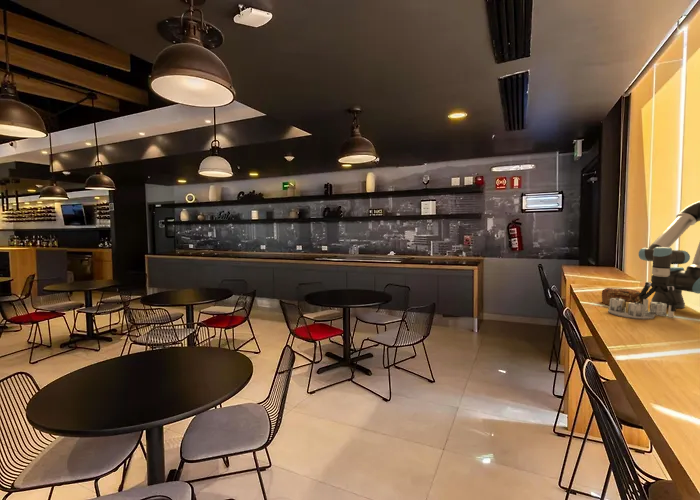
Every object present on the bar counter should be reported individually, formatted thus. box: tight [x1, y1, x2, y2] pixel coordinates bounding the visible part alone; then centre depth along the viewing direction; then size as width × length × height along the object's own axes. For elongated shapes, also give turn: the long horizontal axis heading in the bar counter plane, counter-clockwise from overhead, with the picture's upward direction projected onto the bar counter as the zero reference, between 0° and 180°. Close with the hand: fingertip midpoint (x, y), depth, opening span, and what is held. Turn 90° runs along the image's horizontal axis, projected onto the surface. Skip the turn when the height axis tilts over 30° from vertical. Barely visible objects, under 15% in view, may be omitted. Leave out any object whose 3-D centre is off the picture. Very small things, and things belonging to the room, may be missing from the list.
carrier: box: [608, 298, 656, 320], centre depth 196 cm, size 20×20×8 cm
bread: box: [601, 287, 642, 307], centre depth 218 cm, size 19×11×10 cm, turn 70°
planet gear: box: [649, 301, 668, 317], centre depth 197 cm, size 7×7×6 cm
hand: (657, 313), depth 197 cm, fingers open, 13 cm apart
